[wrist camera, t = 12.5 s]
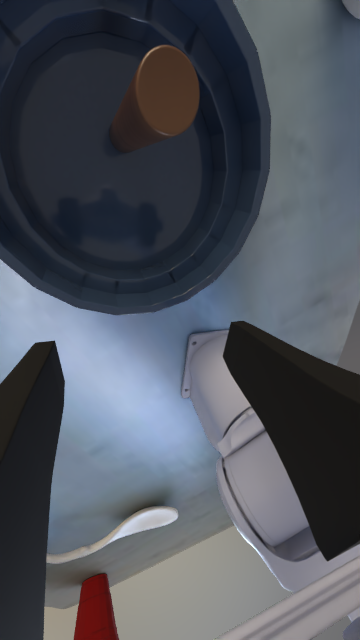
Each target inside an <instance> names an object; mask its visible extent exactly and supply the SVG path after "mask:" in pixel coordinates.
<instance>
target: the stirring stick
mask: <svg viewBox="0 0 360 640" xmlns="http://www.w3.org/2000/svg"><path fill="white" fill-rule="evenodd" d="M199 98H200V90H199V82H198V78H197V74H196V72H195V69H194V67H193V65H192V63H191V62H190V60H189V59H188V57H187V56H186V55H185V54H184V53H183V52H182V51H181V50H179V49H178V48H176V47H173V46H170V45H159V46H156V47H154V48H152V49H151V50H149V51H148V52H147V53H146V54H145V56H144V57H143V59H142V60H141V62H140V64H139V66H138V68H137V71H136V73H135V75H134V77H133V79H132V81H131V83H130V85H129V87H128V90H127V92H126V94H125V96H124V98H123V100H122V102H121V104H120V106H119V109H118V111H117V113H116V115H115V117H114V119H113V121H112V123H111V126H110V129H109V136H110V140H111V142H112V144H113V146H114V147H115V148H116V149H117V150H118V151H120V152H123V153H128V152H131V151H134V150H137V149H140V148H143V147H146V146H149V145H151V144H154V143H157V142H160V141H163V140H166V139H168V138H171V137H174V136H177V135H179V134H181V133H183V132H185V131H186V130H187V129H188V128H189V127H190V125H191V124H192V122H193V121H194V119H195V116H196V114H197V111H198V106H199Z"/></svg>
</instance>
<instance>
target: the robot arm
mask: <svg viewBox="0 0 360 640" xmlns="http://www.w3.org/2000/svg"><path fill="white" fill-rule="evenodd" d="M194 341H195V342H194ZM192 342H194V343H192ZM64 385H65V380H64V376H63V372H62V368H61V364H60V360H59V356H58V352H57V347H56V343H55V341H48V342H39V343H35V344H34V345H33V346H32V347H31V348H30V350H29V351H28V352H27V353H26V354H25V356H24V357H23V358H22V359H21V361H20V362H19V363H18V364H17V365H16V367H15V368H14V369H13V370H12V371H11V372H10V374H9V375H8V376H7V377H6V378H5V379H4V380H3V382H2V383H1V384H0V640H43V633H44V631H43V630H44V602H45V580H46V557H47V540H48V523H49V509H50V495H51V483H52V475H53V468H54V462H55V456H56V450H57V444H58V438H59V432H60V426H61V420H62V414H63V407H64ZM181 396H182V398H189V397H190V399H191V401H192V403H193V406H194V408H195V410H196V413H197V415H198V417H199V420H200V422H201V425H202V427H203V429H204V432H205V434H206V436H207V438H208V440H209V442H210V443H211V445H212V446H213V447H214V448H215V449H216V450H218V451H219V452H220V453H221V455H222V456H221V457H220V458H219V459H218V460H217V465H216V470H217V471H216V480H217V485H218V489H219V492H220V495H221V498H222V501H223V503H224V506H225V508H226V510H227V512H228V514H229V516H230V518H231V520H232V521H233V523H234V525H235V526H236V528H237V529H238V531H239V532H240V534H241V535H242V536H243V538H244V539H245V540H246V541H247V542H248V543H249V544H250V545H252V546H253V547H254V549H255V550H256V551H257V552H258V554H259V555H260V556H261V558H262V559H263V560H264V562H265V563H266V564H267V566H268V568H269V569H270V571H271V572H272V574H273V575H274V576H276V577H277V579H278V581H279V582H280V584H281V586H282V587H283V588H285V589H286V590H288V591H292V592H294V593H293V594H292V595H290V596H288V597H286V598H285V599H283V600H281V601H279V602H278V603H276V604H274V605H272V606H271V607H269V608H268V609H265V610H264V611H262V612H260V613H259V614H257V615H255V616H253V617H252V618H250V619H248V620H246V621H245V622H243V623H241V624H239V625H238V626H236V627H234V628H233V629H231V630H229V631H227V632H225V633H224V634H222V635H220V636H219V637H217V638H215V639H213V640H311V639H313V638H314V637H316V636H317V635H319V634H320V633H322V632H323V631H325V630H326V629H328V628H329V627H331V626H332V625H334V624H335V623H337V622H338V621H340V620H341V619H343V618H344V617H346V616H348V617H349V619H350V620H351V622H352V623H351V624H350V625H349V626H348V627H347V628H346V629H345V630H344V631H343V638H344V640H360V375H359V374H356V373H353V372H350V371H347V370H345V369H342V368H340V367H338V366H335V365H333V364H330V363H328V362H325V361H323V360H321V359H318V358H316V357H314V356H312V355H310V354H308V353H306V352H304V351H301V350H299V349H297V348H295V347H293V346H291V345H289V344H288V343H286V342H284V341H282V340H280V339H278V338H276V337H274V336H272V335H270V334H269V333H267V332H265V331H263V330H261V329H259V328H257V327H255V326H253V325H251V324H249V323H247V322H244V321H237V322H231V325H230V329H229V330H222V331H213V332H204V333H195V334H192V335H190V337H189V341H188V349H187V356H186V363H185V370H184V377H183V384H182V391H181Z"/></svg>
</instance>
